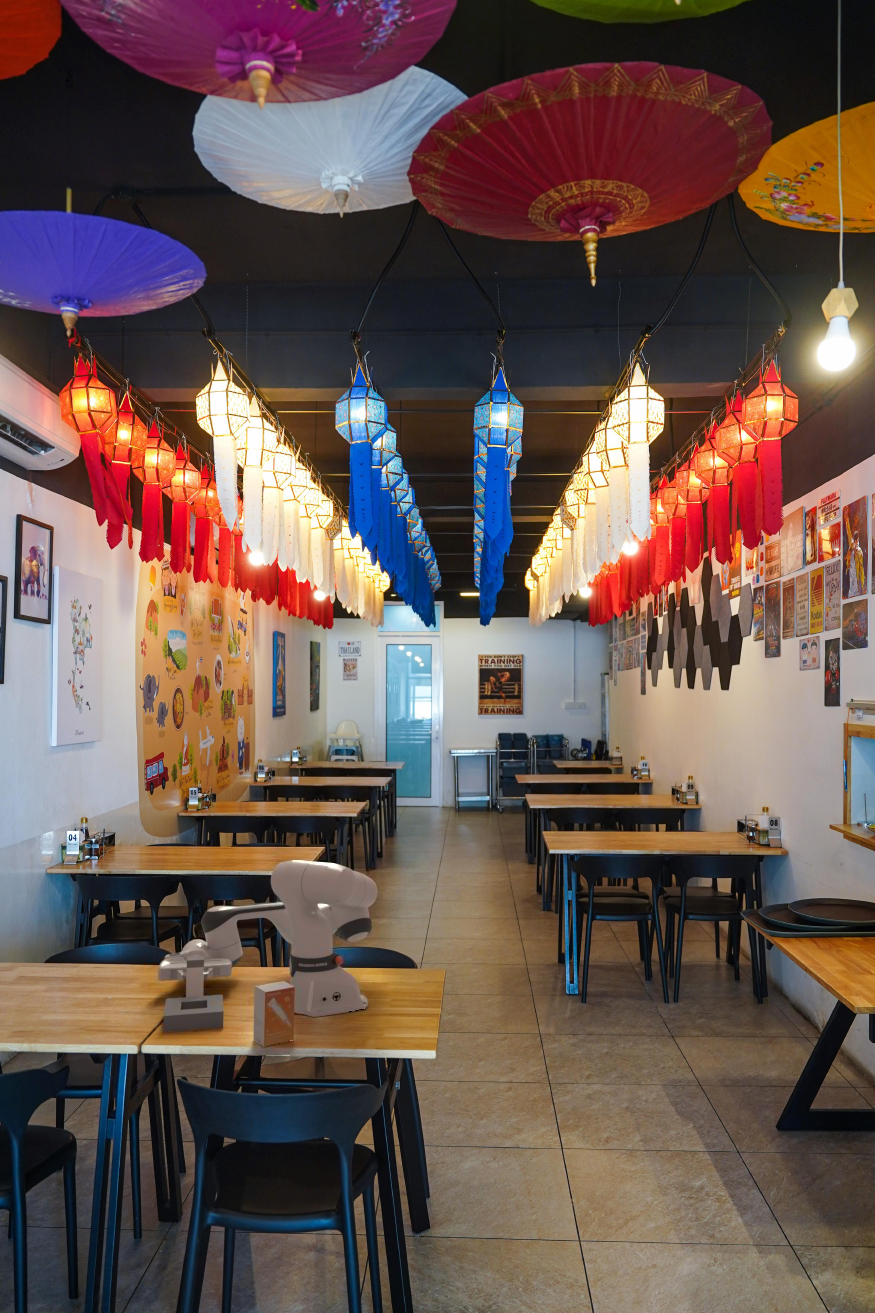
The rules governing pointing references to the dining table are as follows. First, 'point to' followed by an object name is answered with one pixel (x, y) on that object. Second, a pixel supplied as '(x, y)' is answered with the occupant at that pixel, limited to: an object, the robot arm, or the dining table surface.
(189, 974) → the plug
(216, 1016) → the socket block
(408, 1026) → the dining table surface
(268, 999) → the small box
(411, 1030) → the dining table surface
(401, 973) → the dining table surface
